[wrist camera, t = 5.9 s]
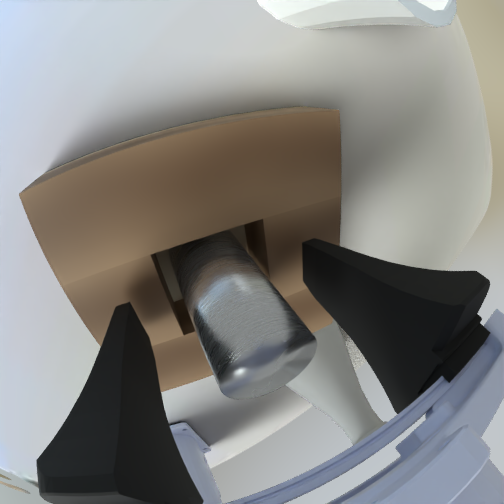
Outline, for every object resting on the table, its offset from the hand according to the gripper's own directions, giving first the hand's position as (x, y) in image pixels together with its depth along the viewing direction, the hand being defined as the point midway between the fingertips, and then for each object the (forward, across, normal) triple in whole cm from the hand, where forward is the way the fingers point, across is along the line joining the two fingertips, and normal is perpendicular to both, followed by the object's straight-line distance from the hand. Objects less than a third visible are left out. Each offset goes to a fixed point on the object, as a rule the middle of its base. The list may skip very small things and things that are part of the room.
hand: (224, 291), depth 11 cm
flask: (+4, -6, +12) cm, 14 cm away
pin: (+3, 0, 0) cm, 3 cm away
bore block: (+4, 0, 0) cm, 4 cm away
